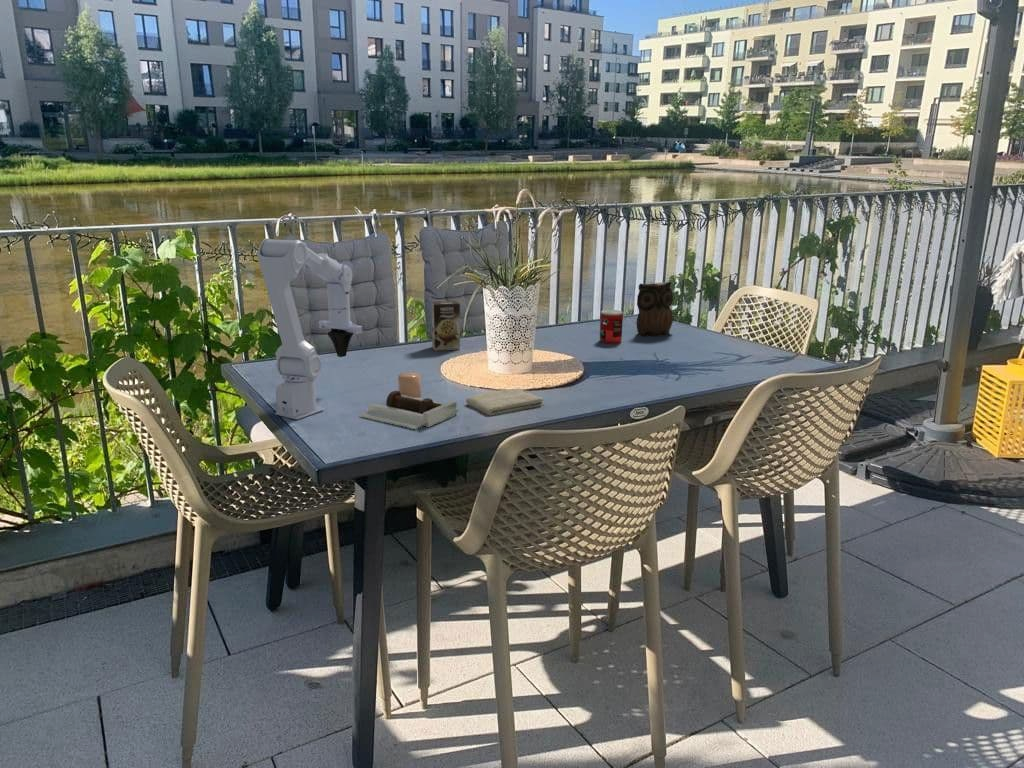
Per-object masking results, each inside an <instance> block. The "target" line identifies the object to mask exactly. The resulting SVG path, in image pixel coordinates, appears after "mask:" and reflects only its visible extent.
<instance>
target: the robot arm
mask: <svg viewBox="0 0 1024 768" xmlns="http://www.w3.org/2000/svg"><path fill="white" fill-rule="evenodd" d="M256 256H257V260H258V262H259V263H258V264H259V267H260V271H261V274H262V276H263V280H264V285H265V288H266V291H267V295H268V299H269V303H270V306H271V309H272V313H273V316H274V319H275V323H276V324H275V325H276V327H277V329H278V330H277V331H278V334H279V338H280V341H281V345H280V346H279V347H278V348H277V350H276V351H275V353H274V354H275V357H276V359H275V360H276V365H275V366H276V370H277V372H278V374H279V375H280V376H281V378H282V380H284V381H283V382H282V383H280V384H278V385H277V387H276V388H275V389H276V390H275V397H276V412H275V415H277V416H281V417H285V418H288V419H293V420H301V419H303V418H306V417H309V416H312V415H314V414H317V413H319V412H323V411H325V408H324V407H320V406H318V405H317V394H316V381H315V379H317V378H318V376H319V374H320V372H321V370H322V360H321V358H320V356H319V355H318V354H317V351H316V349H315V348H316V347H315V346H313V345H312V344H310V343H309V342H308V341H306V340H305V337H304V334H303V330H302V325H301V321H300V318H299V314H298V311H297V307H296V304H295V300H294V296H293V292H292V288H291V284H290V282H291V281H292V280H294V279H296V278H297V277H298V274H299V272H300V271H301V269H302V268H303V266H304V265H306V266H307V267H309V269H310V272H311V273H312V274H314V275H315V276H317V277H319V278H321V279H322V282H323V284H324V285H326V290H327V293H326V294H327V305H328V320H326V319H325V320H324V319H323V320H319V321H318V328H319V329H326V330H330V331H328V332H327V336H328V337H329V339H330V340H331V342H332V344H333V347H334V349H335V352H336V356H337V357H339V358H344V357H347V352H348V347H349V344H350V341H351V338H352V336H353V335H354V334H355V335H359V334H363V326H362V325H358V324H355V323H353V321H352V320H351V307H350V306H351V304H350V291H351V289H352V287H351V284H352V280H353V272H352V268H351V267H350V266H348V265H347V264H345V263H339V262H338V260H337V259H335V258H332V257H330V256H329V254H328V253H326V252H321V253H316V252H314V251H313V250H312V249H310V248H309V247H307V243H306V242H304V241H302V240H300V239H293V240H291V239H273V238H264V239H263V240H262V241H261V243H260V244H259V247H258V250H257V253H256Z"/></svg>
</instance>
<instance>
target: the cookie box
mask: <svg viewBox="0 0 1024 768" xmlns="http://www.w3.org/2000/svg"><path fill="white" fill-rule="evenodd" d="M431 344H432V345H431V347H432V349H433V351H435V352H436V351H454V350H455V351H456V350H461V304H460V302H458V301H456V300H455V301H454V300H453V301H451V300H450V301H449V300H448V301H431Z"/></svg>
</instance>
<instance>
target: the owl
mask: <svg viewBox="0 0 1024 768" xmlns="http://www.w3.org/2000/svg"><path fill="white" fill-rule="evenodd" d="M671 285H672V281H667V282H666V281H665V282H650V283H639V285H638V294H637V299H636V302H637V303H636V306H637V308H638V315H637V317H636V331H637V335H638V336H639V335H641V336H640V337H648V336H651V337H660V336H659V335H664V336H667V335H668V333H669V334H670V330H671V328H672V325H673V322H674V320H675V319H674V317H673V315H674V312H673V311H672V309H671V305H672V304H673V302H674V296H673V295H674V292H673V290H672V288H671Z"/></svg>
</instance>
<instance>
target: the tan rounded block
mask: <svg viewBox="0 0 1024 768" xmlns="http://www.w3.org/2000/svg"><path fill="white" fill-rule="evenodd" d="M397 376H398V377H397V381H398V391H400V394H402V395H407V396H412V397H417V398H421V397H422V391H421V389H422V388H421V373H418V372H410V371H409V372H408V371H407V372H402V373H400V374H398V375H397Z"/></svg>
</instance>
